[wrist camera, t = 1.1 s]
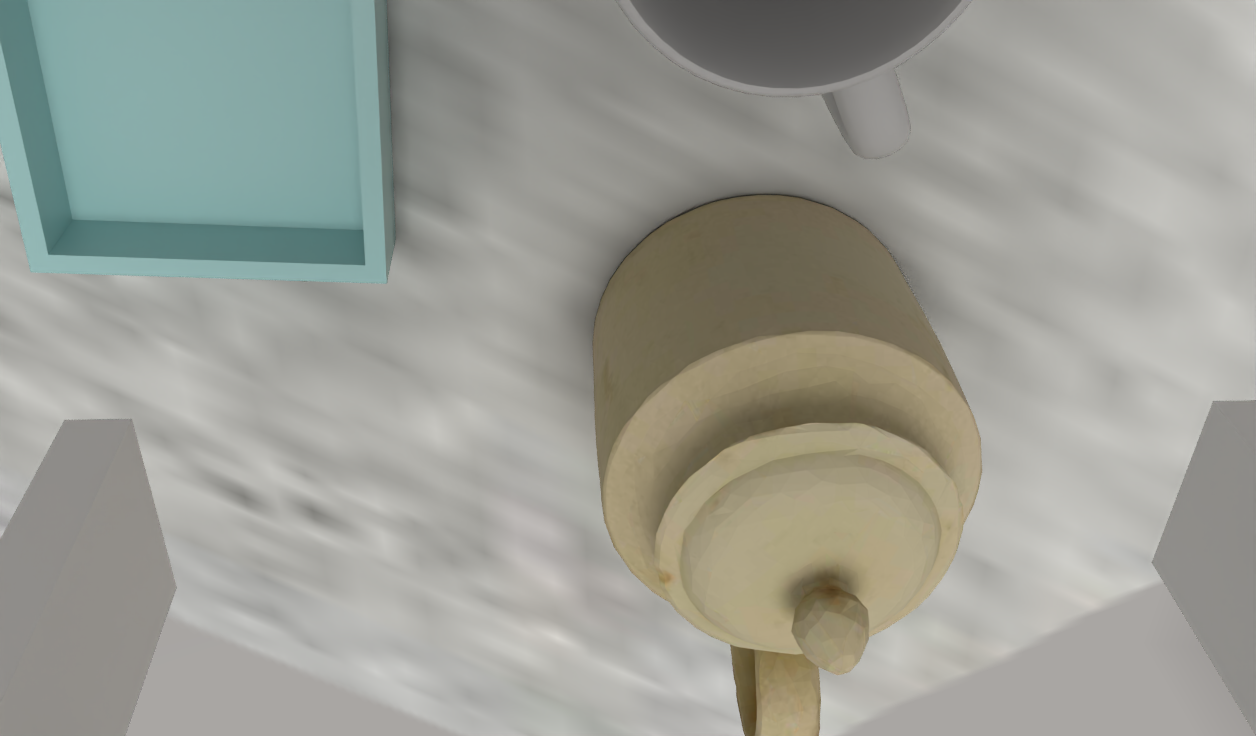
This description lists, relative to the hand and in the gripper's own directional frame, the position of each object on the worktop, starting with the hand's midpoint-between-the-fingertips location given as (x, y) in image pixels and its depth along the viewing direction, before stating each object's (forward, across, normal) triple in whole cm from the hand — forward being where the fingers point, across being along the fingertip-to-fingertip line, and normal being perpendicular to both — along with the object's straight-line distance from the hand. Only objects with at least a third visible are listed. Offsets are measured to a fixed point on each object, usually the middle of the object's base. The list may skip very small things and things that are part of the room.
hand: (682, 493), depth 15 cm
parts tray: (+23, -11, -3) cm, 25 cm away
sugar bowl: (+23, +6, -14) cm, 28 cm away
